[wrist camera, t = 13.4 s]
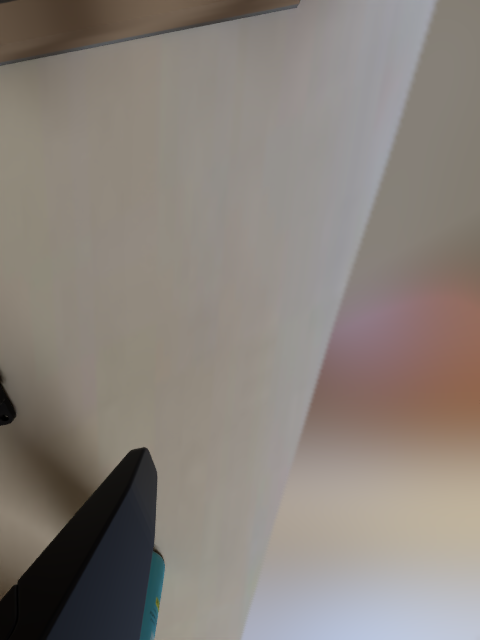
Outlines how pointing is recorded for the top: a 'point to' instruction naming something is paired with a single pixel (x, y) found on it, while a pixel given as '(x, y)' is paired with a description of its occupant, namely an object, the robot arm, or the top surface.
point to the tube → (153, 597)
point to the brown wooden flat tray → (109, 22)
